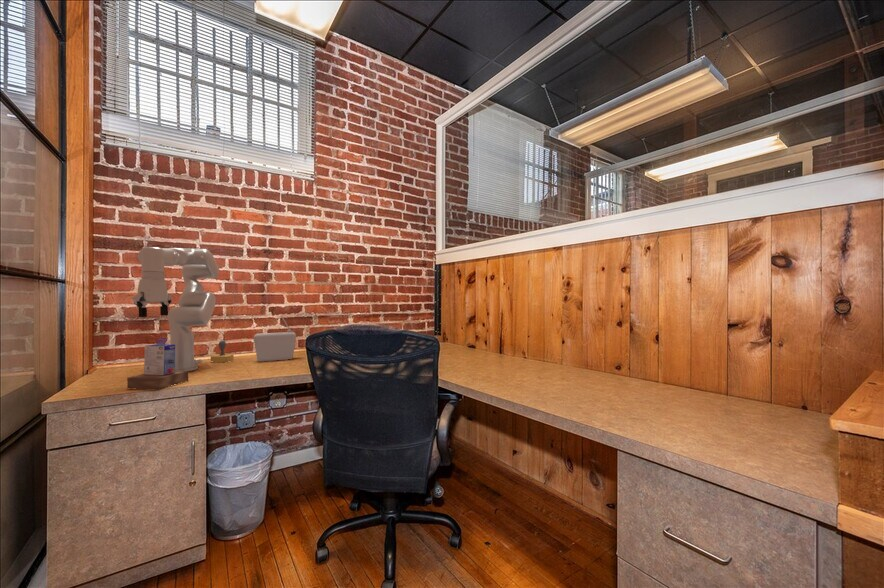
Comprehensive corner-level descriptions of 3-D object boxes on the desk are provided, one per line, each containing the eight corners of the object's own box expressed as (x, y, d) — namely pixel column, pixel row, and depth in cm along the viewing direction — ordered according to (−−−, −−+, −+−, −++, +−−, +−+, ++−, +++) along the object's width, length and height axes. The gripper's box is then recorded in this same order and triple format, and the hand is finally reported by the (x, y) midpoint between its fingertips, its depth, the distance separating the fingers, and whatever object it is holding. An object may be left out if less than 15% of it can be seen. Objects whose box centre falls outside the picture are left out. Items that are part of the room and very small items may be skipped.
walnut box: (158, 381, 154) (158, 370, 154) (188, 382, 153) (188, 370, 153) (127, 390, 140) (127, 377, 140) (159, 391, 139) (159, 378, 139)
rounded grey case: (295, 357, 212) (295, 315, 212) (296, 359, 204) (296, 316, 204) (254, 360, 202) (254, 316, 202) (253, 362, 194) (253, 317, 195)
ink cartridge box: (176, 372, 149) (176, 338, 149) (164, 375, 144) (164, 340, 144) (156, 372, 151) (156, 338, 151) (143, 375, 145) (143, 339, 145)
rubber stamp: (234, 360, 201) (233, 339, 201) (227, 362, 196) (227, 341, 196) (217, 360, 202) (217, 339, 202) (210, 362, 196) (210, 341, 196)
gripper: (163, 276, 159) (164, 314, 160) (124, 275, 142) (125, 317, 143) (178, 276, 158) (179, 314, 159) (141, 275, 141) (141, 318, 142)
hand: (153, 316), depth 151 cm, fingers open, 9 cm apart
